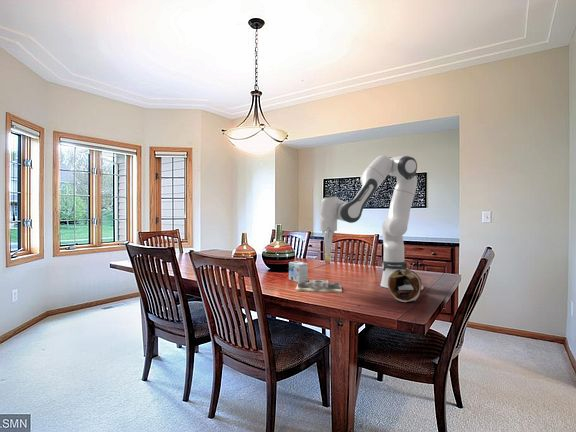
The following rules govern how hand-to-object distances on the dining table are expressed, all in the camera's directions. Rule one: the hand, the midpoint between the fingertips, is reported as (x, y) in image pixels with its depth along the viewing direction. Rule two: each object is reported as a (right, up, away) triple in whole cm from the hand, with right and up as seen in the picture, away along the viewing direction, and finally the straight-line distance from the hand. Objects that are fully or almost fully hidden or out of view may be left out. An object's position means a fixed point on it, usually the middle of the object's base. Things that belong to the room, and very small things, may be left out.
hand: (327, 253), depth 177 cm
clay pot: (+37, -20, -9) cm, 43 cm away
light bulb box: (-15, -19, +27) cm, 36 cm away
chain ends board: (-4, -20, +5) cm, 21 cm away
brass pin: (0, -4, 0) cm, 4 cm away
